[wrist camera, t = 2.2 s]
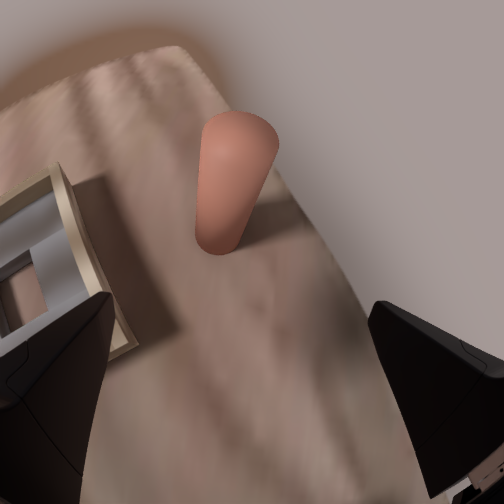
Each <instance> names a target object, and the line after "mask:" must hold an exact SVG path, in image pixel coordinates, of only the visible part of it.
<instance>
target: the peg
mask: <svg viewBox="0 0 504 504" xmlns="http://www.w3.org/2000/svg"><path fill="white" fill-rule="evenodd" d="M278 149H279V139H278V135H277V133H276V131H275V130H274V128H273V127H272V126H271V125H270V124H269V123H268V122H267V121H265V120H264V119H262V118H260V117H259V116H256V115H254V114H251V113H247V112H241V111H230V112H225V113H221V114H218V115H216V116H214V117H213V118H211V119H210V120H209V121H208V122H207V123H206V125H205V126H204V129H203V132H202V141H201V152H200V164H199V178H198V192H197V209H196V228H195V236H196V240H197V243H198V244H199V246H200V247H201V248H202V249H203V250H204V251H206V252H207V253H210V254H213V255H224V254H227V253H230V252H231V251H233V250H234V249H235V248H236V247H237V245H238V243H239V241H240V239H241V236H242V234H243V232H244V229H245V227H246V224H247V222H248V220H249V217H250V215H251V213H252V210H253V208H254V205H255V203H256V201H257V198H258V196H259V194H260V191H261V189H262V187H263V184H264V182H265V180H266V177H267V175H268V173H269V170H270V168H271V166H272V163H273V161H274V159H275V156H276V154H277V152H278Z"/></svg>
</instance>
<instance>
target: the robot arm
mask: <svg viewBox="0 0 504 504" xmlns="http://www.w3.org/2000/svg"><path fill="white" fill-rule="evenodd" d="M114 324H115V308H114V301H113V295H112V293H111V292H104V291H99V292H97V293H96V294H94V295H93V296H91V297H90V298H88V299H86V300H85V301H83V302H82V303H80V304H79V305H77V306H76V307H74V308H73V309H71V310H70V311H68V312H67V313H65V314H64V315H62V316H60V317H59V318H57V319H56V320H54V321H53V322H52V323H50V324H49V325H47V326H46V327H44V328H43V329H41V330H40V331H38V332H37V333H35V334H34V335H32V336H31V337H29V338H28V339H27V341H26V340H25V341H24V342H22V343H21V344H19V345H18V346H16V347H15V348H14V349H12V350H11V351H9V352H8V353H6V354H5V355H3V356H1V357H0V504H79V502H80V493H81V486H82V477H83V471H84V465H85V459H86V453H87V447H88V442H89V437H90V432H91V427H92V423H93V418H94V414H95V409H96V405H97V401H98V397H99V393H100V389H101V385H102V381H103V377H104V374H105V370H106V367H107V363H108V358H109V353H110V346H111V341H112V335H113V329H114ZM368 327H369V330H370V333H371V336H372V339H373V342H374V345H375V348H376V351H377V355H378V357H379V360H380V363H381V365H382V367H383V370H384V372H385V374H386V377H387V379H388V382H389V384H390V387H391V389H392V392H393V394H394V397H395V399H396V402H397V404H398V407H399V409H400V412H401V415H402V417H403V420H404V422H405V425H406V428H407V431H408V433H409V436H410V439H411V442H412V445H413V447H414V450H415V451H416V452H415V454H416V457H417V460H418V463H419V466H420V469H421V472H422V475H423V478H424V481H425V485H426V488H427V491H428V495H429V497H430V499H432V498H434V497H436V496H438V495H439V494H441V493H443V492H445V491H446V490H448V489H449V488H451V487H453V486H454V485H456V484H458V483H459V482H461V481H462V480H464V479H465V478H467V477H468V478H469V479H470V481H471V483H472V484H471V485H470V486H469V487H467V488H465V489H464V490H462V491H461V492H459V493H458V494H456V495H455V496H454V497H453V501H452V504H504V361H503V360H501V359H499V358H497V357H495V356H492V355H490V354H488V353H486V352H484V351H482V350H480V349H478V348H475V347H474V346H472V345H470V344H468V343H466V342H464V341H462V340H460V339H458V338H457V337H455V336H453V335H451V334H449V333H447V332H445V331H443V330H441V329H440V328H438V327H436V326H434V325H432V324H430V323H428V322H426V321H424V320H422V319H421V318H418V317H417V316H415V315H413V314H411V313H409V312H407V311H405V310H403V309H401V308H399V307H397V306H395V305H393V304H392V303H390V302H388V301H376V302H375V304H374V306H373V308H372V311H371V313H370V316H369V318H368Z"/></svg>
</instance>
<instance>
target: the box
mask: <svg viewBox="0 0 504 504" xmlns="http://www.w3.org/2000/svg"><path fill="white" fill-rule="evenodd" d="M32 261H33V264H34V268H35V271H36V275H37V278H38V281H39V284H40V287H41V290H42V293H43V296H44V299H45V302H46V305H47V307H48V310H49V311H47V312H45V313H44V314H42V315H40V316H39V317H37V318H35V319H34V320H32V321H30V322H29V323H27V324H25V325H24V326H22V327H20V328H19V329H17V330H16V331H14V332H12V333H11V332H10V329H9V326H8V323H7V319H6V316H5V313H4V309H3V306H2V302H1V299H0V357H1V356H3V355H5V354H6V353H8V352H9V351H11V350H12V349H14V348H15V347H16V346H18V345H19V344H21V343H22V342H24V341H25V340H26V341H27V339H28V338H29V337H31V336H32V335H34V334H35V333H37V332H38V331H40V330H41V329H43V328H44V327H46V326H47V325H49V324H50V323H52V322H53V321H54V320H56V319H57V318H59V317H60V316H62V315H64V314H65V313H67V312H68V311H70V310H71V309H73V308H74V307H76V306H77V305H79V304H80V303H82V302H83V301H85V300H86V299H88V298H90V297H91V296H93V295H94V294H96V293H97V292H99V291H104V292H111V293H112V295H113V301H114V308H115V324H114V329H113V335H112V341H111V346H110V353H109V358H108V361H110V360H112V359H114V358H116V357H117V356H119V355H121V354H123V353H125V352H127V351H129V350H131V349H132V348H134V347H136V346H138V345H139V344H138V342H137V340H136V338H135V336H134V334H133V332H132V331H131V329H130V327H129V325H128V323H127V321H126V319H125V317H124V315H123V313H122V311H121V309H120V307H119V305H118V303H117V301H116V299H115V296H114V294H113V292H112V290H111V288H110V286H109V283H108V281H107V279H106V277H105V274H104V272H103V270H102V268H101V265H100V263H99V260H98V258H97V256H96V253H95V251H94V248H93V246H92V243H91V240H90V238H89V235H88V233H87V230H86V227H85V224H84V222H83V219H82V216H81V213H80V210H79V207H78V204H77V201H76V198H75V195H74V192H73V189H72V186H71V184H70V182H69V180H68V179H67V177H66V175H65V173H64V171H63V170H62V168H61V166H60V164H59V162H58V161H57V162H55V163H54V164H52V165H50V166H48V167H47V168H45V169H43V170H41V171H40V172H38V173H36V174H35V175H33V176H31V177H30V178H28V179H26V180H25V181H23V182H22V183H20V184H18V185H17V186H15V187H14V188H12V189H11V190H9V191H8V192H6V193H5V194H3V195H2V196H0V282H1V281H3V280H4V279H5V278H7V277H8V276H10V275H11V274H13V273H14V272H16V271H18V270H19V269H21V268H22V267H24V266H25V265H27V264H28V263H30V262H32Z"/></svg>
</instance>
